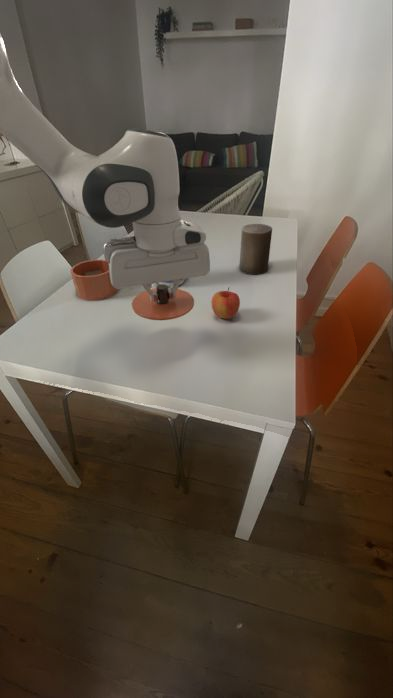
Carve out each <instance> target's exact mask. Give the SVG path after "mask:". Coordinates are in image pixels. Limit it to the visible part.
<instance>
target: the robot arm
mask: <svg viewBox="0 0 393 698" xmlns="http://www.w3.org/2000/svg"><path fill="white" fill-rule="evenodd" d="M4 41H5V40H4V39H3V35H2V33H1V32H0V134H1V135H2V136H3V138H5V139H6V140H7V141H8V142H9V143H10V144H11V145H13V146H14V147H15V148H16V149H17V150H19V151H20V152H21V153H22V154H23V155H24V156H25V157H26V158H28V160H30V162H32V163H33V164H34V165H35V166H36V167H38V169H40V170H41V171H42V172H43V174H45V176H46V177H47V178H48V180H49V181H50V184H51V185H52V187H53V189H54V191H55V193H56V194H57V196H58V198H59V199H60V200H61V202H62V203H63V204H64V205H65V206H66V207H67V208H68V209H70V210H72V211H73V212H76V213H78V214H81V215H82V216H84V217H86V218H87V219H89V220H91V221H92V222H93V223H96V224H97V225H99V226H102V227H105V228H109V229H110V228H111V229H116V228H121V227H124V226H127V225H129V224H132V230H133V236H126V237H122V238H121V237H120V238H116V237H115V238H111V239H109V241H107V242H106V243H105V244H104V245H103V248H102V252H103V257H104V260H106V261H107V262H108V263H109V274H110V280H111V284H112V285H113V286H114V287H115V288H116V289H118V290H121V289H125V288H126V289H127V288H132V287H139V286H143V288H144V291H147V292H148V293H149V294H150V300H151V302H156V301H158V294H157V292H156V291H152V290H151V289H153V286H152V284H158V283H159V282H166V281H172V282H173V283H172V285H171V287H169V289H168V298H169V299H173V298H176V293H175V291H176V290H177V289H179V286H180V285H181V284H180V279H185V280H186V279H190V278H197V277H203V276H207V275H208V274H209V272H210V271H211V257H210V250H209V248H208V245H207V244H206V239H207V234H206V232H205V231H204V229H203V228H202V227H200V226H199V225H198V224H197V223H194V222H191V221H187V220H182V217H181V211H180V208H179V196H180V191H181V190H180V171H179V170H180V169H179V160H178V156H177V155H178V154H177V150H176V145H175V143H174V141H173V139H172V138H171V137H170V136H169V135H168V134H166V133H163V132H161V131H156V130H150V129H142V128H130V129H127V130H126V131H125V133H124V135H123V136H122V138H121V139H119V141H118V142H117V143H115V144H114V145H113V146H112V147H110V148H109V149H108V150H106V151H105V152H103V153H101V154H99V155H98V156H97V155H96V154H95V155H94V154H93V153H90V152H88V151H85V150H82V149H80V148H78V147H76V146H75V145H73V144H72V143H70V142H69V141H68V140H67V139H66V138H65V136H63V135H62V133H61V132H60V131H58V130H59V129H57V128H56V127H55V126H54V125H53V124H52V123H51V122H50V121H49V120H48V119H47V117H46V116H44V115H43V113H42V112H41V111H40V110H39V109H38V108H37V107H36V105H34V104H33V103H32V102H31V100H30V99H29V98H28V96H26V94H25V93H24V91H23V90H22V89H21V87H20V85H19V83H18V81H17V79H16V78H15V75H14V72H13V70H12V67H11V64H10V60H9V56H8V52H7V49H6V44H5V42H4Z"/></svg>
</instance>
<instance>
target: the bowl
mask: <svg viewBox="0 0 393 698" xmlns="http://www.w3.org/2000/svg"><path fill="white" fill-rule="evenodd" d="M96 270H102V274H99V275H93V276H85V272H89V271H96ZM70 274H71V278H72V282H73V285H74V289H75V292H76V295H77V297H78V298H80V299H82V300H84V301H100V300H105V299H108V298H111V297H112V296H115V294H117V292H118V291H119V289H116V288H115V287H114V286H113V285H112V284H111V280H110V274H109V263H108V262H107V261H106V260H105V259H90V260H85V261H81V262H78V263H76V264H74V265H73V266H72V267H71V268H70Z"/></svg>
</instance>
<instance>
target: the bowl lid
mask: <svg viewBox="0 0 393 698" xmlns="http://www.w3.org/2000/svg"><path fill="white" fill-rule="evenodd" d="M169 288H170V287H168V286H167V285H164V284H161V285H160V284H158V285H156V286H155V287H154V288H150V289H151V290H152V291H156V292H157V294H158V301H156V302H151V300H150V294H149V293H148V292H147V291H146V290H144V291H142V292H139V294H137V295H135V297H134V298H133V299H132V302H131V309H132V311H133V312H134V314H136V315H137V316H139V317H140V318H143V319H146V320H150V321H151V320H152V321H170V320H174V319H179V318H181V317H183V316H185V315H188V313H190V312H191V311H192V310H193V309H194V306H195V298H194V296H192V294H191V293H190V292H188V291H186V290H184V289H181V288H178V289H177V290H176V291H175V293H176V298H173V299H169V298H168V289H169Z"/></svg>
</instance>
